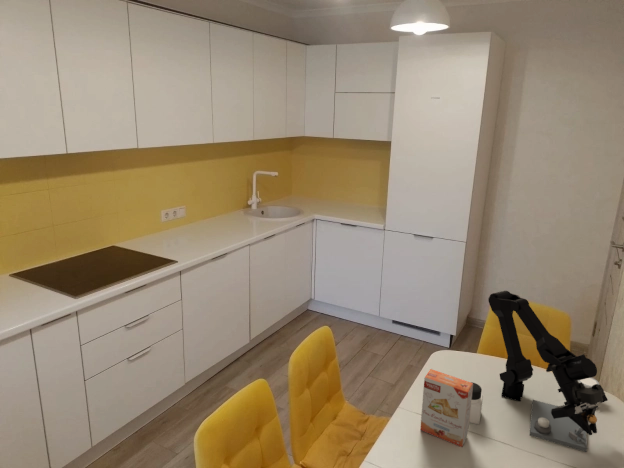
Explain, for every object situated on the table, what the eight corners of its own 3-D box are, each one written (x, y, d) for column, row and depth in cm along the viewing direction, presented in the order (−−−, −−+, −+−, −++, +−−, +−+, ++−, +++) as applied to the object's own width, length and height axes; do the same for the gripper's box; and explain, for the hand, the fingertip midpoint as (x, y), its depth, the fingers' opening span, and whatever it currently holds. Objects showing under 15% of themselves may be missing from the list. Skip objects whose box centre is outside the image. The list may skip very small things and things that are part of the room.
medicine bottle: (481, 412, 158) (484, 382, 154) (479, 425, 152) (482, 394, 148) (459, 406, 161) (462, 377, 157) (456, 419, 155) (460, 389, 151)
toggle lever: (571, 431, 144) (587, 414, 138) (576, 428, 145) (593, 411, 138) (577, 438, 142) (594, 421, 136) (583, 436, 143) (600, 419, 137)
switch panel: (529, 435, 147) (530, 427, 146) (532, 403, 162) (533, 395, 161) (587, 452, 140) (589, 444, 139) (584, 417, 155) (586, 409, 154)
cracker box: (419, 431, 149) (423, 376, 143) (426, 420, 154) (430, 367, 148) (462, 448, 142) (468, 392, 135) (467, 437, 146) (474, 381, 140)
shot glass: (599, 404, 161) (602, 388, 159) (578, 402, 162) (581, 385, 160) (591, 392, 167) (595, 376, 165) (571, 390, 169) (574, 374, 167)
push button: (537, 425, 146) (538, 422, 146) (537, 419, 149) (538, 416, 149) (548, 429, 145) (549, 425, 144) (548, 422, 148) (549, 419, 147)
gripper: (566, 386, 134) (594, 441, 128) (608, 370, 141) (636, 422, 135) (539, 391, 143) (564, 444, 137) (580, 377, 150) (605, 426, 144)
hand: (593, 434), depth 138 cm, fingers closed, pressing on toggle lever
